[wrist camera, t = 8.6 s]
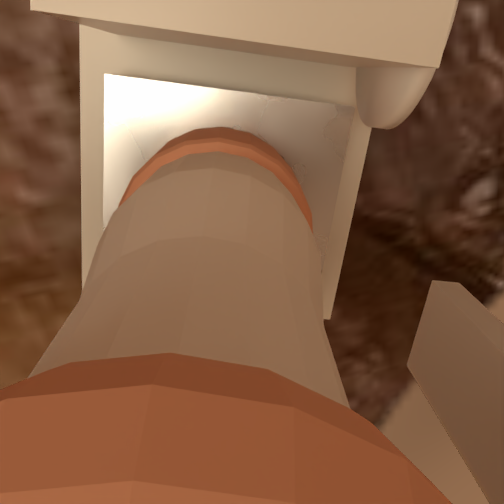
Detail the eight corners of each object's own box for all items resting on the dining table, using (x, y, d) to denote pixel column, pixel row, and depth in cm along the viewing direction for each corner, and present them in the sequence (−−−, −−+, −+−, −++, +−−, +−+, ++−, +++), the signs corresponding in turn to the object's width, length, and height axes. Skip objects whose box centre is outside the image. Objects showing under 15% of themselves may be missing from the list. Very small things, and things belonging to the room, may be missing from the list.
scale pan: (309, 311, 23) (312, 320, 22) (106, 294, 22) (102, 301, 21) (350, 105, 19) (355, 107, 19) (109, 73, 18) (104, 73, 18)
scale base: (319, 294, 27) (382, 448, 16) (97, 273, 26) (2, 425, 15) (388, -45, 21) (568, -169, 10) (98, -93, 20) (-65, -295, 9)
